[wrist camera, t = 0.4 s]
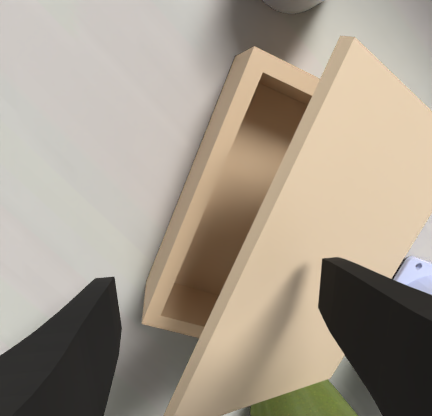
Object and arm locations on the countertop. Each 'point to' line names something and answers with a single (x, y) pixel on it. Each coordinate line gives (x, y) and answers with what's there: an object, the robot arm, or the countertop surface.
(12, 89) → the countertop surface
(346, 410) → the plant pot
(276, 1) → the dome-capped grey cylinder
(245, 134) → the cardboard box
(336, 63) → the box lid
